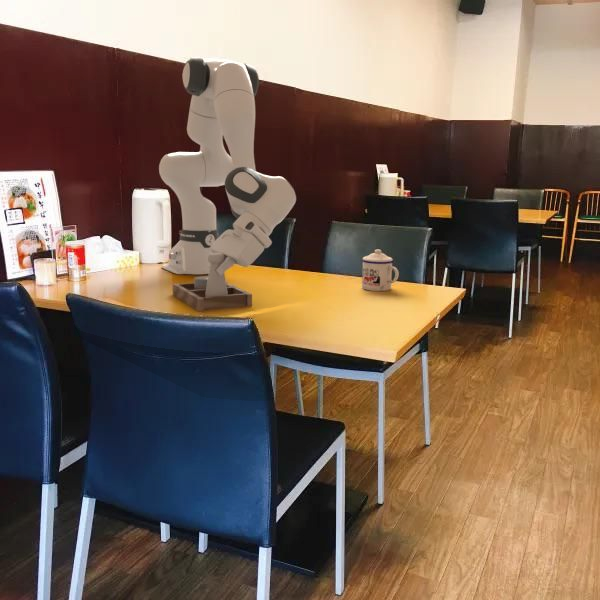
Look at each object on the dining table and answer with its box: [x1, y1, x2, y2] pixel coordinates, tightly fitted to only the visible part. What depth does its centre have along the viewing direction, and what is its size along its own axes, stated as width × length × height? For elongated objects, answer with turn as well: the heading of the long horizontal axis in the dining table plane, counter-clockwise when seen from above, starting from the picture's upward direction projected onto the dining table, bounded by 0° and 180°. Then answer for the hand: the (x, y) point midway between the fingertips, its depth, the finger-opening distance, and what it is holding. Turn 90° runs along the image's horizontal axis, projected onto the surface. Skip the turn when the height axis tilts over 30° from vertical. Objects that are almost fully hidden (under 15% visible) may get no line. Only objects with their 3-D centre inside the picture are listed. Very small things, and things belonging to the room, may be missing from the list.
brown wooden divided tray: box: [172, 281, 253, 312], centre depth 162 cm, size 21×14×4 cm
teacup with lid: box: [361, 249, 400, 292], centre depth 183 cm, size 12×9×12 cm
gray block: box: [193, 275, 208, 290], centre depth 166 cm, size 6×6×5 cm
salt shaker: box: [205, 253, 228, 297], centre depth 157 cm, size 6×6×13 cm
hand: (214, 271), depth 156 cm, fingers closed on salt shaker, 3 cm apart
